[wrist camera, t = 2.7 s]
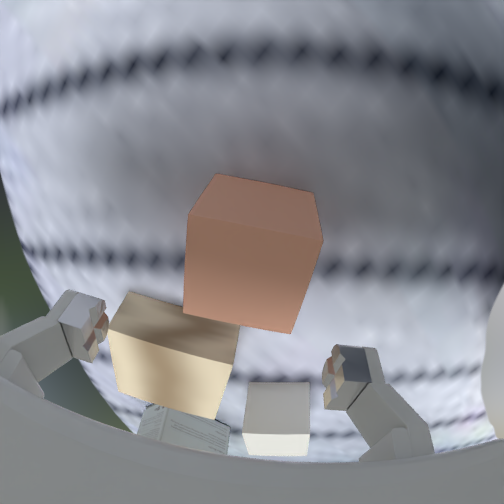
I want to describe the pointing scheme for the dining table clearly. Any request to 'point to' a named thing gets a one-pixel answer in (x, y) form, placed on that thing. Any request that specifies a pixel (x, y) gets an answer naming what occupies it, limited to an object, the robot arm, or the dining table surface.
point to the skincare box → (184, 429)
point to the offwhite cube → (277, 418)
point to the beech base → (171, 355)
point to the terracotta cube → (250, 253)
